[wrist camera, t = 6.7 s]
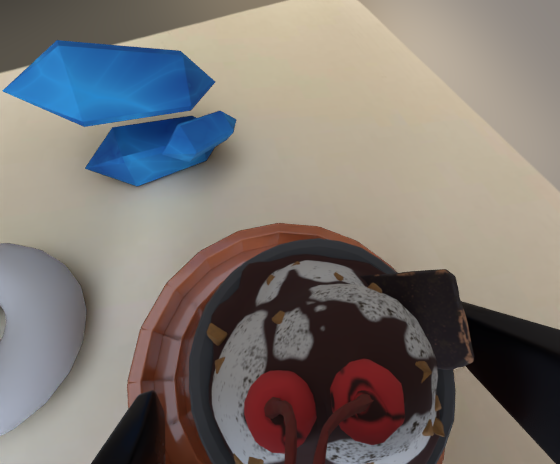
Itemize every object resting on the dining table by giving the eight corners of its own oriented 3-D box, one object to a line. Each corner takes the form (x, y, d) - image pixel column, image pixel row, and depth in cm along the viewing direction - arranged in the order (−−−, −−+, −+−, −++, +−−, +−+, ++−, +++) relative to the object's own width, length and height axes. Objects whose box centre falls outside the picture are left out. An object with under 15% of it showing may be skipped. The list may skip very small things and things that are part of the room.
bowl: (449, 348, 18) (497, 343, 15) (309, 617, 13) (330, 714, 9) (270, 211, 21) (273, 178, 18) (100, 385, 16) (54, 390, 12)
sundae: (210, 421, 15) (-156, 847, 2) (244, 294, 18) (209, 69, 5) (336, 451, 15) (1047, 1182, 2) (350, 318, 18) (646, 162, 4)
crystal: (265, 94, 16) (-20, 113, 11) (239, 190, 24) (59, 229, 18) (216, 15, 19) (-33, 0, 14) (206, 123, 26) (40, 140, 21)
